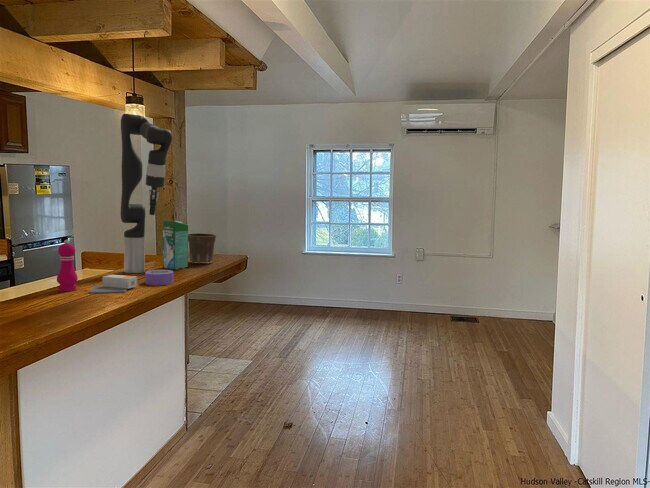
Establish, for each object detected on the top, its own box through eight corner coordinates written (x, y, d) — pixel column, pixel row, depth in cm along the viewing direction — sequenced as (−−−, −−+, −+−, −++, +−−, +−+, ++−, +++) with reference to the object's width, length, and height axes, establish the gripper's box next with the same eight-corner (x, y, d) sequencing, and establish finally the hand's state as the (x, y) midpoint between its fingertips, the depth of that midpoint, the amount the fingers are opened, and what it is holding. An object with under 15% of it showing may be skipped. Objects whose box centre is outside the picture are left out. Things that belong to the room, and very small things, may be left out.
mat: (94, 287, 193) (94, 285, 192) (128, 286, 196) (128, 285, 196) (88, 293, 181) (88, 291, 181) (125, 292, 185) (125, 291, 185)
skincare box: (128, 278, 189) (101, 276, 191) (128, 288, 189) (102, 286, 191) (137, 275, 195) (111, 274, 197) (137, 286, 195) (111, 284, 197)
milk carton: (188, 267, 249) (188, 220, 246) (174, 269, 241) (174, 221, 238) (176, 265, 253) (176, 219, 251) (162, 267, 246) (162, 220, 243)
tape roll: (142, 285, 201) (142, 273, 200) (148, 280, 212) (148, 269, 212) (171, 285, 203) (171, 274, 202) (175, 280, 214) (175, 269, 214)
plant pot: (222, 262, 270) (222, 235, 268) (201, 266, 256) (201, 236, 255) (202, 259, 279) (202, 232, 277) (180, 262, 265) (180, 234, 263)
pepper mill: (82, 289, 188) (81, 239, 186) (66, 292, 181) (65, 241, 179) (68, 287, 190) (67, 238, 188) (52, 290, 183) (51, 239, 181)
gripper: (147, 172, 206) (143, 211, 209) (145, 175, 194) (142, 216, 197) (164, 175, 209) (161, 213, 212) (164, 177, 197) (160, 218, 200)
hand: (152, 214), depth 205 cm, fingers closed
